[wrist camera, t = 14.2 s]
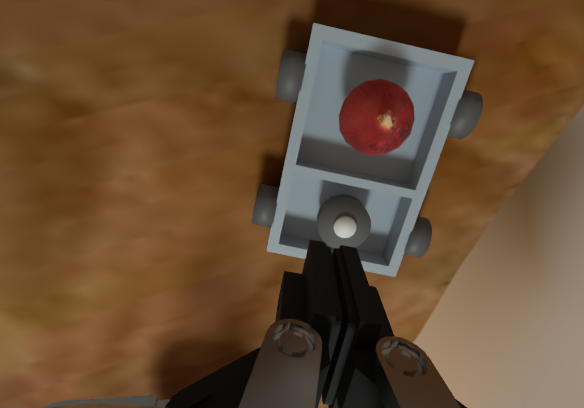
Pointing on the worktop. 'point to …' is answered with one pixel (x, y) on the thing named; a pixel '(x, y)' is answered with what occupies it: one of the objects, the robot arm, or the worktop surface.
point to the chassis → (355, 165)
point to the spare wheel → (343, 221)
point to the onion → (376, 117)
